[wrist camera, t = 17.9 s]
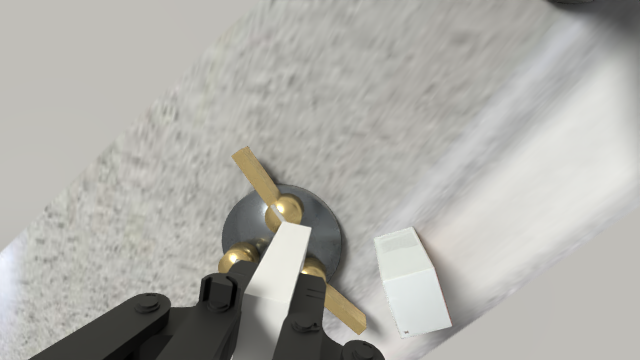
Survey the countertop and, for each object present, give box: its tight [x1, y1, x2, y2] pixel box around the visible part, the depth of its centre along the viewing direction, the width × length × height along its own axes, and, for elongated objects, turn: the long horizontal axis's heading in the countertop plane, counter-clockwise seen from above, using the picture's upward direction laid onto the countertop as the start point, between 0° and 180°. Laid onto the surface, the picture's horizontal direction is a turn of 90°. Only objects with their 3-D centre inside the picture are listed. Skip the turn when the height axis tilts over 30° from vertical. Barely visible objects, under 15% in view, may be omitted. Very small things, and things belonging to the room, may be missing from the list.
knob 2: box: [232, 146, 304, 234], centre depth 46 cm, size 13×5×4 cm, turn 34°
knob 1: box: [218, 242, 259, 273], centre depth 50 cm, size 13×5×4 cm, turn 162°
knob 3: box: [302, 257, 366, 335], centre depth 49 cm, size 13×5×4 cm, turn 48°
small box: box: [373, 227, 453, 339], centre depth 45 cm, size 8×6×13 cm
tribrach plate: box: [222, 184, 341, 282], centre depth 48 cm, size 18×18×9 cm
